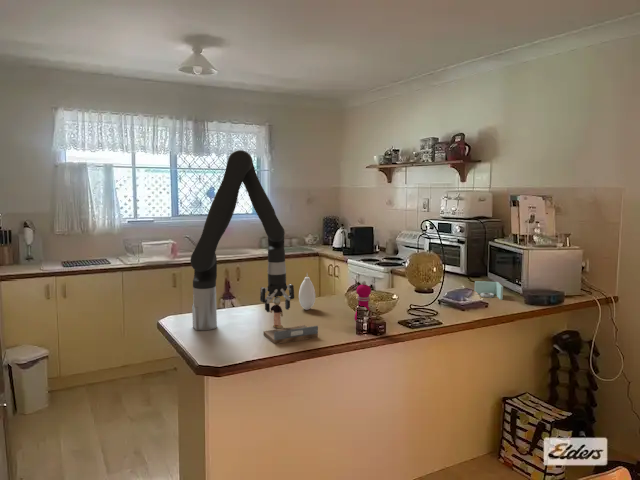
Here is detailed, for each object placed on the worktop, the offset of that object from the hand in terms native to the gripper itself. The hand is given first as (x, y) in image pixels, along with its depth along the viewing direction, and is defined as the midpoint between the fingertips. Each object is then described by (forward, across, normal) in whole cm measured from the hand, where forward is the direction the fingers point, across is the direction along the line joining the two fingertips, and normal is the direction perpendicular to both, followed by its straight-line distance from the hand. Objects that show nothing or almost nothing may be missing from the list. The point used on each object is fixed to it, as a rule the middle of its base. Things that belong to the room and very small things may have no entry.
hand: (277, 310), depth 202 cm
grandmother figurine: (+7, 0, 0) cm, 7 cm away
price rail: (+5, 0, -20) cm, 20 cm away
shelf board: (+7, 0, -14) cm, 15 cm away
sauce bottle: (+7, +23, +19) cm, 31 cm away
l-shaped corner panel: (+10, +120, 0) cm, 120 cm away
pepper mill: (+8, +31, -18) cm, 36 cm away
